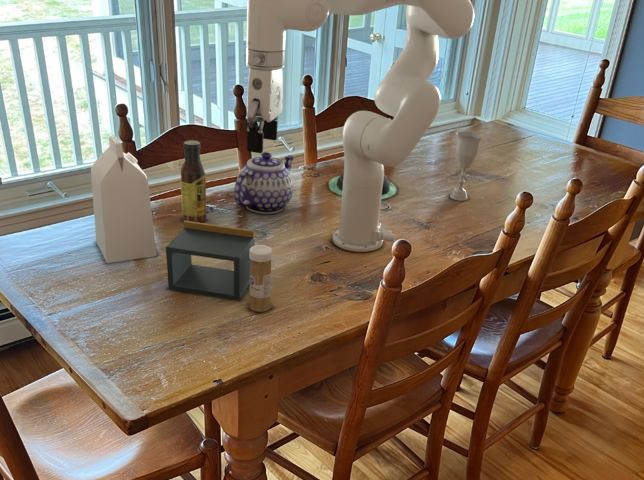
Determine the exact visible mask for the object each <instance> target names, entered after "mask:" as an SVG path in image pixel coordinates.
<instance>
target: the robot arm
mask: <svg viewBox="0 0 644 480" xmlns="http://www.w3.org/2000/svg"><path fill="white" fill-rule="evenodd" d="M246 3H247V5H246V44H245V45H246V47H245V48H246V50H245V51H246V53H245V54H246V56H245V66H246V67H248V68H249V69H248V78H247V79H248V82H247V94H246V118H247V123H246V126H247V129H246V131H247V142H246V143H247V144H246V146H247V147H246V149H247V151H248V152H250V153H256V154H262V153H264V140H270V141H277V139H278V127H279V126H278V125H279V121H278V120H279V116H280V115H281V114H282V112H283V109H284V106H283V105H284V104H283V101H284V99H283V97H284V95H283V94H284V90H283V89H284V79H283V78H284V77H283V76H284V75H283V69H284V68H285V59H286V57H285V55H286V40H287V39H286V38H287V37H286V36H287V31H289V30H291V31H298V32H313V31H316V30H319V29H320V28H321V27H322V26H324V25H325V23H326V21H327V20H328V17H329V14H330V15H338V16H339V15H340V16H364V15H368V14H371V13H374V12H378V11H381V10H386V9H389V8H392V7H396V6H400V5H405V6H406V7H405V21H406V39H405V43H404V47H403V49H402V51H401V52H400V54H399V56H398V57H397V58H396V60H395V61H394V62H393V64H392V65H391V67H390V69H389V70H388V71H387V73H386V74H385V75H384V77H383V78H382V80H381V82H380V83H379V84H378V86H377V88H376V90H375V93H374V97H373V98H374V99H373V100H374V104H375V106H376V107H377V109H379V111H381V112H382V113H384V114H386V115H389V116H391V117H393V119H390V118H388V117H386V116H383V115H381V114H378V113H376V112H373V111H370V110H369V111H368V110H357V111H356V112H354V113H352V114H350V115H349V116H348V117H347V119H346V121H345V122H344V125H343V128H342V148H343V157H344V158H343V160H344V161H343V163H344V164H343V165H344V166H343V173H344V178H343V190H342V195H341V203H340V204H341V205H340V217H339V228H338V229H337V230H336V231H334V233H332V238H331V239H332V242H333V244H334V245H335V246H336V247H338V248H340V249H342V250H345V251H349V252H356V253H368V252H373V251H376V250H378V249H379V248H381V247H382V246H383V245H384V241H386V242H390V243H395V240H396V234H395V233H392V232H393V231H392V230H389V229H383V228H381V225H382V224H381V222H379V221H380V214H381V203H382V199H381V196H382V187H383V180H384V174H385V169H384V166H385V167H388V168H389V167H390V168H392V167H397V166H399V165H400V164H402V163H404V161H405V160H406V159H407V158H408V157H409V156H410V155H411V154H412V153H413V150H414V149H415V148H416V146H417V145H418V144H419V143H420V141H421V140H422V138H423V137H424V136H425V134H426V132H427V131H428V130H429V128H430V127H431V125H432V124H433V122H434V121H435V119H436V117H437V115H438V112H439V109H440V106H441V94H440V93H441V92H440V90H439V88H438V86H436V85H435V84H434V83H432V82H431V81H429V80H430V78H431V77H432V74H433V73H434V72H435V70H436V68H437V66H438V62H439V57H440V55H439V54H440V51H439V49H440V48H439V37H441V38H445V39H449V40H457V39H461V38H463V37H464V36H465V35H467V34H468V33H469V31H470V30H471V28H472V26H473V23H474V20H475V10H474V6H473V5H474V4H473V3H472V1H471V0H247V1H246ZM258 123H259V124H258Z"/></svg>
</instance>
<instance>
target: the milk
mask: <svg viewBox="0 0 644 480" xmlns="http://www.w3.org/2000/svg"><path fill="white" fill-rule="evenodd" d="M108 142H109V143H108V144H109V145H108V147H107V148H106V150H104V151H103V152H102V153H101V155H100V156H99V157H98V158H97V159H96V160H95V161H94V162H93V164H92V165H91V168H90V177H91V190H92V191H91V192H92V193H91V194H92V204H93V205H92V206H93V218H94V219H93V220H94V230H95V242H96V244H97V247H98V248H99V250H100V252H101V254H102V257H103V259H104V260H105V262H106V264H113V263H117V262H119V263H120V262H125V261H131V260H139V259H144V258H151V257H157V248H156V247H157V246H156V239H155V229H154V221H153V213H152V203H151V195H150V187H149V180H148V177H147V174H146V173H145V172H144V171H143V169H142V168H141V167H140V165H139V164H138V163H139V161H138V159H137V158H136V157H135V156H133V154H132V153H131V152H127V153H125V152H124V149H123V145H122V142H121V141H120V140H119V138H118V137H117V135H115V134H114V135H113V134H112V135H108Z"/></svg>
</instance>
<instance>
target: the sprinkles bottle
mask: <svg viewBox="0 0 644 480" xmlns="http://www.w3.org/2000/svg"><path fill="white" fill-rule="evenodd" d="M249 257H250V285H249V304H248V307H249V309H250V310H251V311H253V312H257V313H264V312H267V311H269V310H270V309H271V294H272V259H273V248H272V247H270V246H268V245H265V244H254V246H253V247H251V248H250V253H249Z"/></svg>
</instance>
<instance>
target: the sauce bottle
mask: <svg viewBox="0 0 644 480" xmlns="http://www.w3.org/2000/svg"><path fill="white" fill-rule="evenodd" d="M183 150H184V162H183V164H182V165H181V167H180V198H181V199H180V200H181V214H182V219H183V221H192V222H199V223H202V222H204V221H205V220H206V217H207V185H206V183H207V182H206V181H207V180H206V172H205V169H204V166H203V164H202V162H201V151H200V150H201V142H200V141H198V140H185V141H184V142H183Z"/></svg>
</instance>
